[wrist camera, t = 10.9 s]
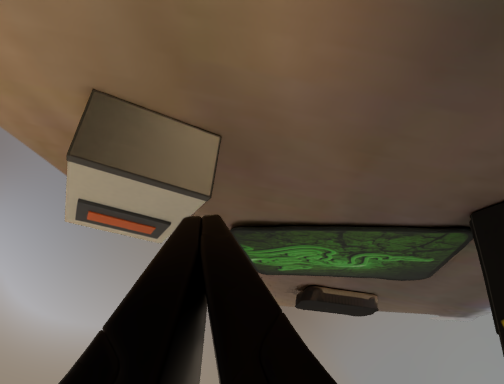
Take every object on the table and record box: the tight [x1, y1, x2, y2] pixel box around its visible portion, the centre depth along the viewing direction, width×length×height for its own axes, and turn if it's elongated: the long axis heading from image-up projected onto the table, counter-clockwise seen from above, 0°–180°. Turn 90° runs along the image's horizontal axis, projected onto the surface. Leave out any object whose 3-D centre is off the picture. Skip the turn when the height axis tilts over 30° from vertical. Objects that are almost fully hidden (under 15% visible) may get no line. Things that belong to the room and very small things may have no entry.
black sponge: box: [295, 286, 378, 316], centre depth 71 cm, size 16×8×4 cm, turn 77°
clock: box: [65, 89, 221, 244], centre depth 29 cm, size 5×9×14 cm
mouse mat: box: [230, 226, 473, 281], centre depth 48 cm, size 27×22×1 cm
